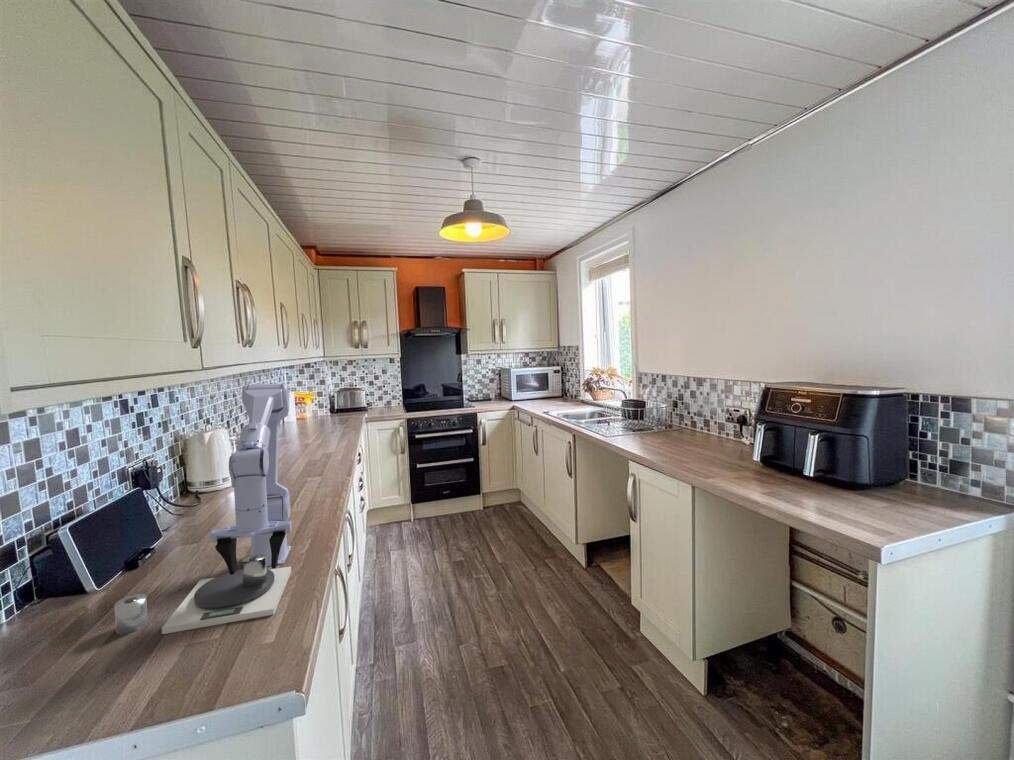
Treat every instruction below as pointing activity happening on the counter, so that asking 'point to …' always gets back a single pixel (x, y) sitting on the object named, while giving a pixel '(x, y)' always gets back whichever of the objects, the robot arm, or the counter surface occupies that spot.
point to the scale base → (198, 617)
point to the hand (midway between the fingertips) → (254, 569)
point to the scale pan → (229, 591)
